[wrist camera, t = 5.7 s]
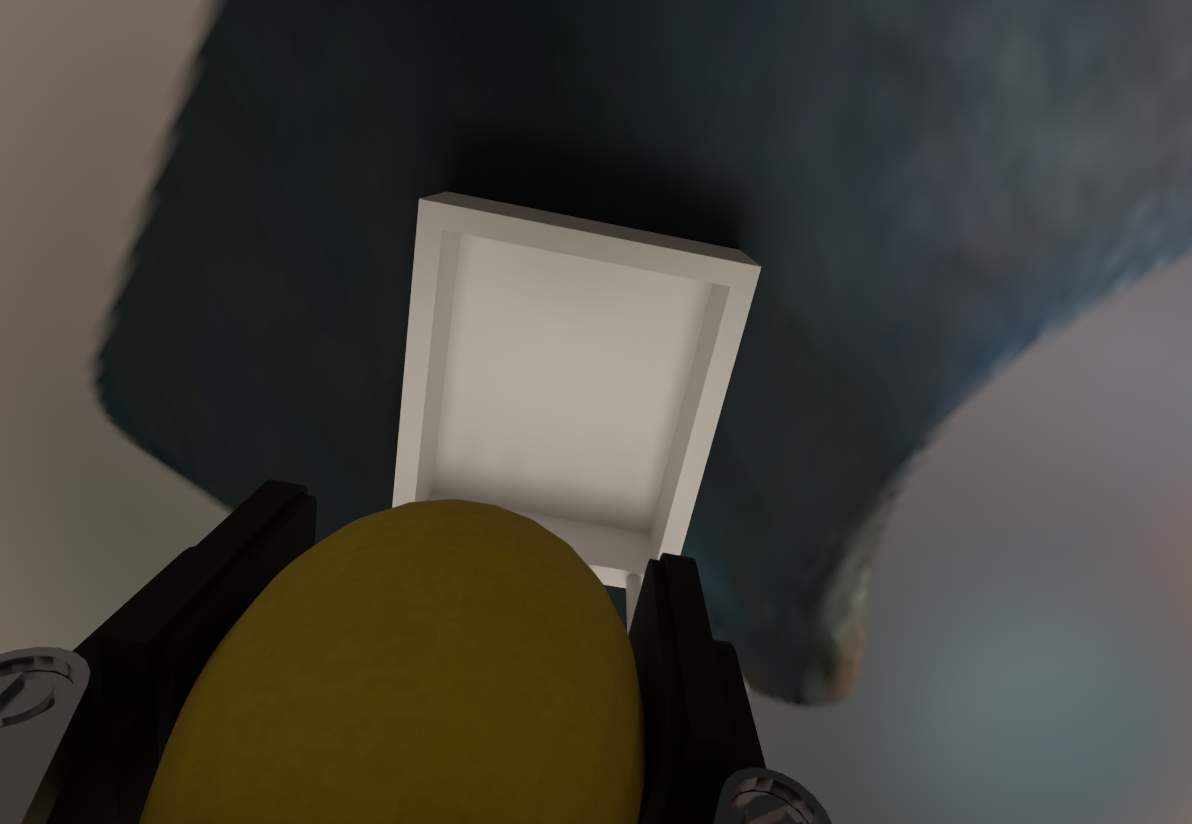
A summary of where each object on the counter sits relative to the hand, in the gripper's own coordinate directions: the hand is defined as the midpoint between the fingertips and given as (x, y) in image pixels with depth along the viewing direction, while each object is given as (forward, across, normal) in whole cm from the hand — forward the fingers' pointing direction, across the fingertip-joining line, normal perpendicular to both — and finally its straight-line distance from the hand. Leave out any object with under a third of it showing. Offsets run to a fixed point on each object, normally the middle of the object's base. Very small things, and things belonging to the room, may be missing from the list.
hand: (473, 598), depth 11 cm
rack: (+16, -1, +1) cm, 16 cm away
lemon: (+1, 0, 0) cm, 1 cm away
